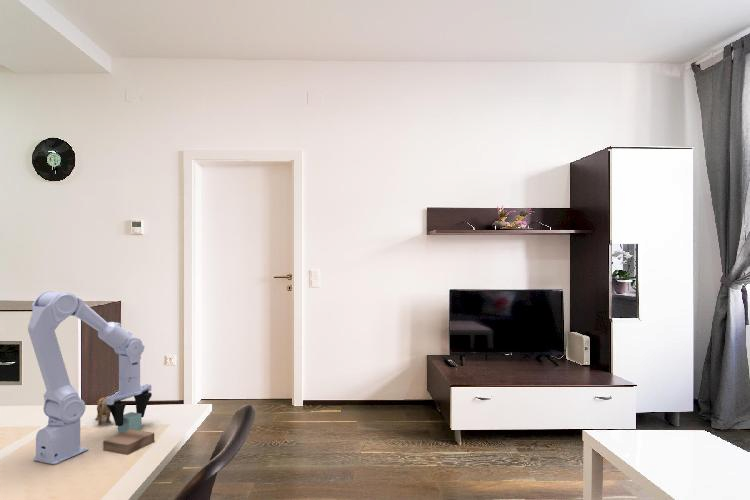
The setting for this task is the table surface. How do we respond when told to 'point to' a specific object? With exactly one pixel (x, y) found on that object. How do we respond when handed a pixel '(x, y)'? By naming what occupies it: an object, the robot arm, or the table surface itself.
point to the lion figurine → (102, 411)
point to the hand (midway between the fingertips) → (130, 421)
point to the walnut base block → (128, 441)
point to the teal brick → (130, 422)
